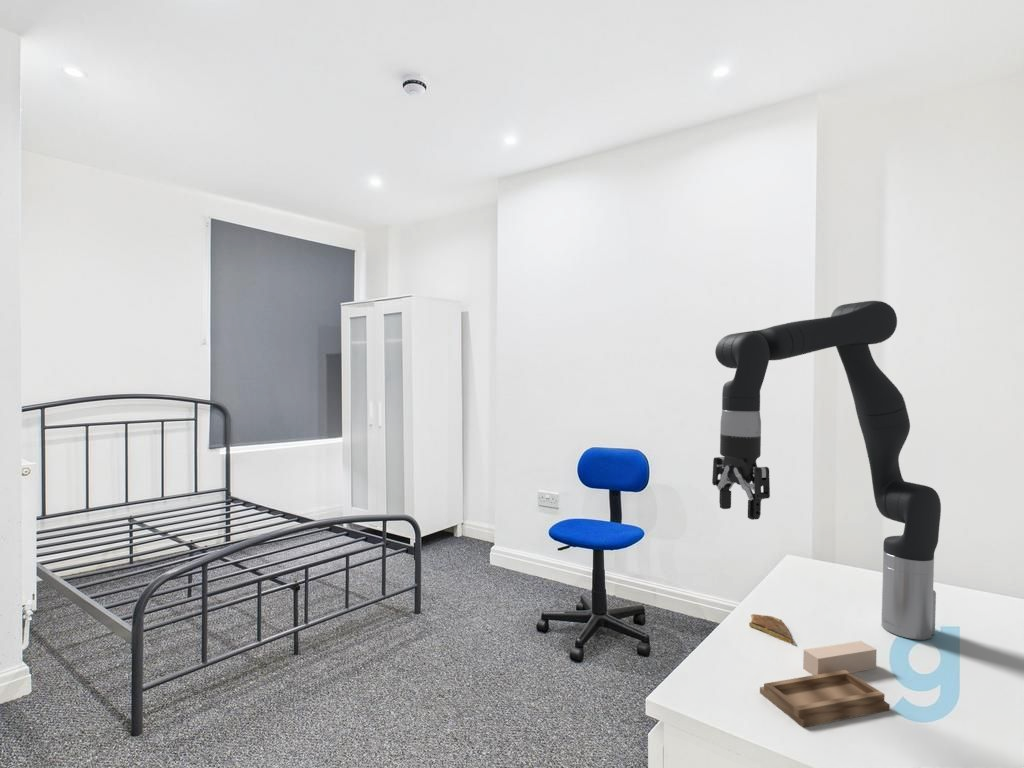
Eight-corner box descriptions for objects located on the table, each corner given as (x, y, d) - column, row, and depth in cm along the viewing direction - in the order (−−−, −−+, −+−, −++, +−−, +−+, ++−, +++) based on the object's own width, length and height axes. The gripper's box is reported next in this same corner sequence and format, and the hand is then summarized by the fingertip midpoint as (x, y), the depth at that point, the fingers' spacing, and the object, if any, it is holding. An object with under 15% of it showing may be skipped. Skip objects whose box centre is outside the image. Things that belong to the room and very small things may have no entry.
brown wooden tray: (840, 678, 104) (840, 667, 104) (889, 710, 94) (889, 697, 94) (759, 692, 99) (760, 680, 99) (803, 727, 90) (803, 713, 90)
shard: (793, 647, 117) (793, 638, 117) (754, 642, 119) (754, 634, 119) (781, 624, 128) (781, 616, 127) (746, 620, 129) (746, 613, 129)
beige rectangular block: (860, 660, 111) (860, 640, 111) (875, 669, 108) (876, 649, 108) (803, 669, 108) (803, 649, 107) (817, 679, 104) (818, 658, 104)
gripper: (782, 436, 105) (780, 521, 105) (733, 429, 119) (731, 504, 119) (748, 437, 103) (747, 524, 103) (702, 429, 117) (701, 506, 117)
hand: (738, 513), depth 111 cm, fingers open, 8 cm apart
